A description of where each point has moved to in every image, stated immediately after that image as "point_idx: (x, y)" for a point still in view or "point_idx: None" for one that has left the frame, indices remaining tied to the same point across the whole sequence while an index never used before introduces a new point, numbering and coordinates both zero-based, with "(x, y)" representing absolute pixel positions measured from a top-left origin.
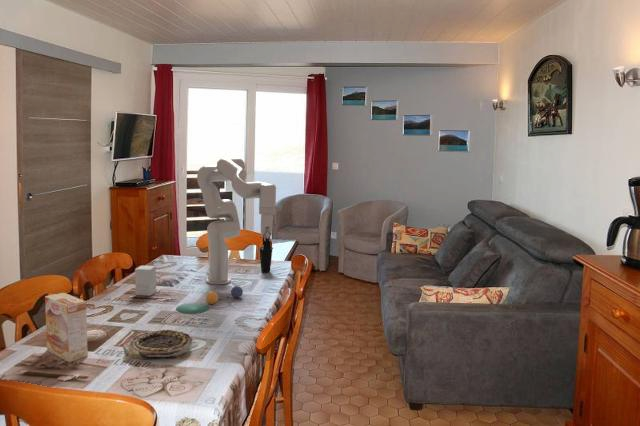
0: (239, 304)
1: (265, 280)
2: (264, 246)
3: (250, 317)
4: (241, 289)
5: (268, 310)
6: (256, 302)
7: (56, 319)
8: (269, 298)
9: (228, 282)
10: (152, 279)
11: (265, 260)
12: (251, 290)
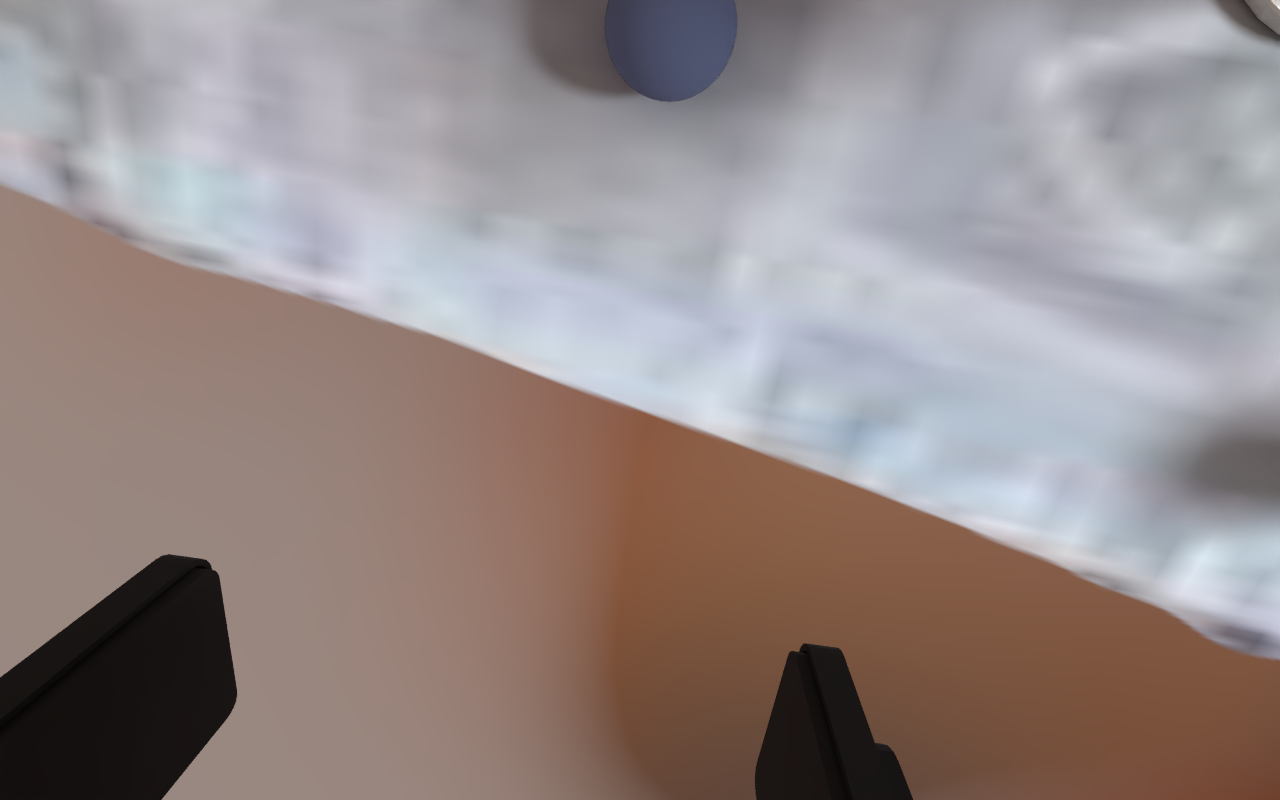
0: (453, 42)
1: (1164, 419)
2: (99, 632)
3: (98, 97)
4: (641, 77)
5: (286, 281)
6: (501, 218)
7: None
8: (600, 349)
9: (1251, 3)
10: None
11: None
12: (879, 232)
